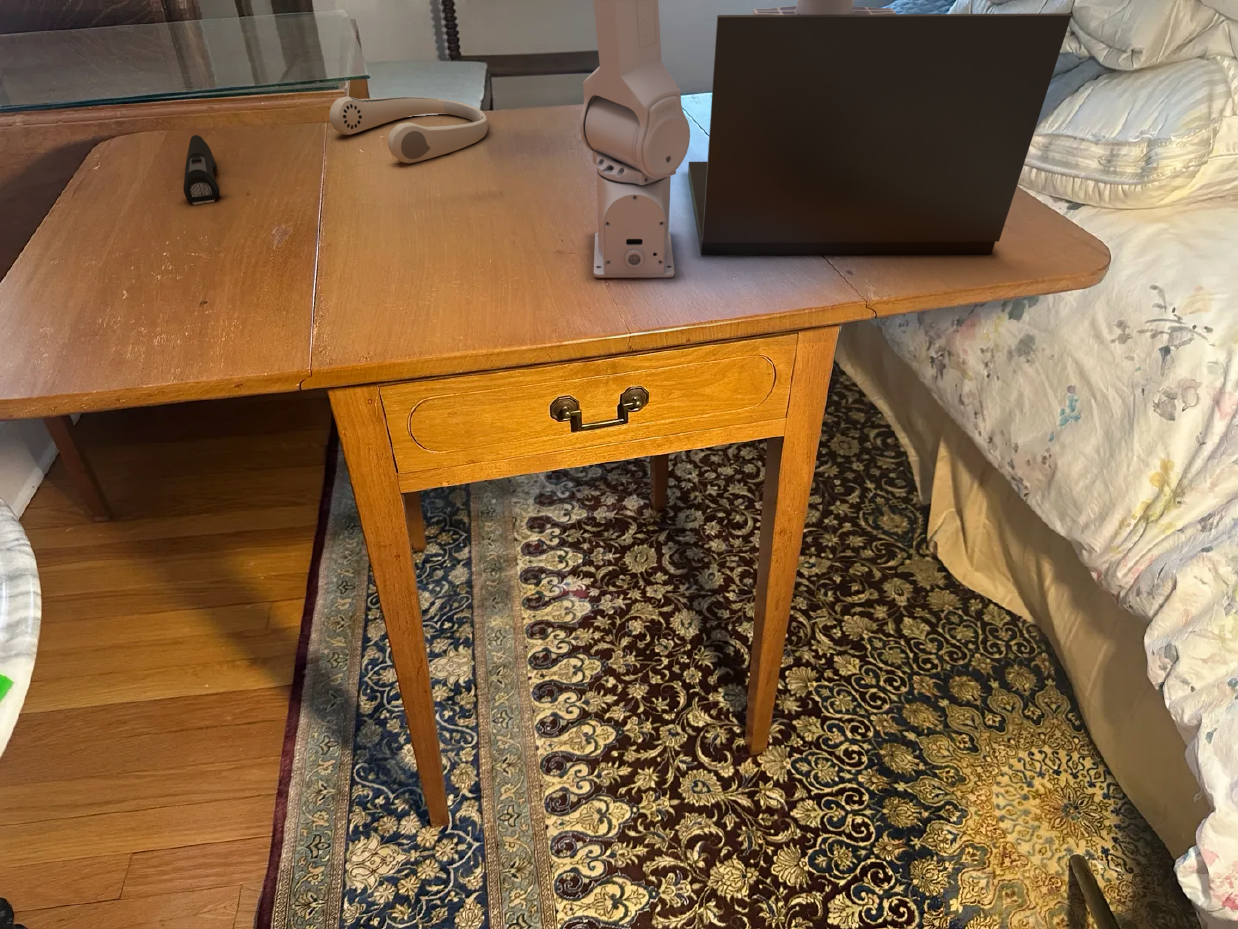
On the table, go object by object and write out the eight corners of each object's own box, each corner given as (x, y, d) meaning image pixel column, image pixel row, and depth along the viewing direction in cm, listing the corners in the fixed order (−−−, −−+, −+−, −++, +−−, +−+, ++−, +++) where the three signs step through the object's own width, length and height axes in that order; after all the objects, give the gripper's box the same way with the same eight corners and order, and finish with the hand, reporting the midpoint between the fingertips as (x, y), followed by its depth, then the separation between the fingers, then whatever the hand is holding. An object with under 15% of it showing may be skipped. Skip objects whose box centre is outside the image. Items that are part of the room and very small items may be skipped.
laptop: (687, 175, 105) (688, 160, 104) (934, 174, 105) (937, 159, 104) (701, 255, 89) (702, 238, 88) (991, 254, 89) (996, 237, 88)
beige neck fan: (439, 104, 125) (434, 68, 122) (512, 134, 116) (509, 96, 113) (329, 136, 116) (321, 98, 112) (400, 171, 107) (393, 131, 103)
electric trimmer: (219, 156, 111) (211, 131, 109) (221, 200, 100) (213, 173, 98) (188, 160, 110) (179, 135, 108) (187, 205, 99) (177, 178, 97)
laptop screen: (717, 14, 73) (718, 16, 73) (1068, 12, 74) (1072, 15, 73) (702, 239, 88) (702, 243, 87) (996, 237, 88) (999, 241, 87)
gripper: (893, -47, 90) (869, 90, 98) (753, -46, 90) (742, 91, 98) (911, -32, 84) (883, 110, 93) (762, -32, 84) (749, 111, 93)
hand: (811, 102), depth 95 cm, fingers closed
